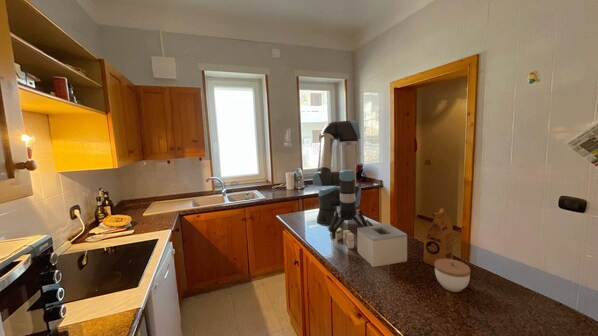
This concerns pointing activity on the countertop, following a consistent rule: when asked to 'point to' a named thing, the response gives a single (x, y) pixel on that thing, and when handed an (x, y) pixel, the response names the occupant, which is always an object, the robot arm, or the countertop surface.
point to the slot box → (382, 244)
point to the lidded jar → (452, 274)
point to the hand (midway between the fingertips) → (348, 243)
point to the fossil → (368, 223)
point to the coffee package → (439, 239)
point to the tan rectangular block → (348, 239)
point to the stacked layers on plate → (337, 234)
